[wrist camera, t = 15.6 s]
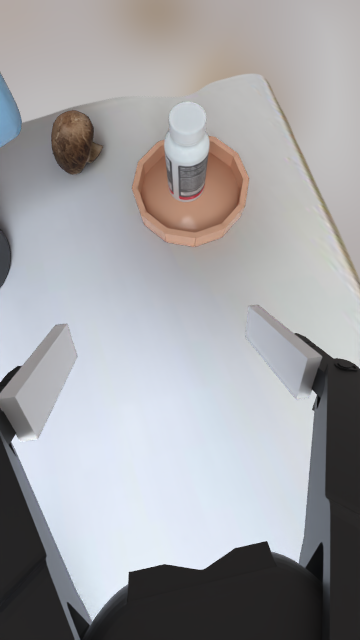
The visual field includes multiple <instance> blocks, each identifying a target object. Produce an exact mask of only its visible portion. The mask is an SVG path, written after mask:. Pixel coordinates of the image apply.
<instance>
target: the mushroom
mask: <svg viewBox="0 0 360 640" xmlns="http://www.w3.org/2000/svg"><path fill="white" fill-rule="evenodd" d="M93 133H94V128H93V125H92V123H91V121H90V119H89V117H88V116H86V115H85V114H83V113H81V112H78V111H74V110H72V111H67V112H65V113H63V114H61V115H60V116H58V117H57V119H56V120H55V122H54V124H53V128H52V134H51V141H52V150H53V154H54V157H55V159H56V161H57V163H58V164H59V166H60V167H61V168H62V169H63V170H65V171H66V172H68V173H69V174H72V175H74V174H78V173H81V171H82V170H83V168H84V167H85V165H86V163H87V162H88V163H92V162H93V161H94V160H95V159H96V157H97V156H98V155H99V153H100V152H101V150H102V148H103V146H102V145H99V144H96V143H94V142H93Z"/></svg>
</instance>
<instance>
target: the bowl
mask: <svg viewBox="0 0 360 640" xmlns="http://www.w3.org/2000/svg"><path fill="white" fill-rule="evenodd" d="M208 137H209V142H210V145H209V154H208V162H207V170H206V178H205V185H204V190H203V193H202V194H201V196H200V197H199V198H197V199H196V200H194V201H192V202H181V201H178V200H176V199H175V198H174V197H173V196H172V195H171V194H170V192H169V188H168V179H167V169H166V160H165V149H164V141H165V140H162V141H159V142H157V143H156V144H155V145H154V146H153V147H152V148H151V149H150V150H149V151H148V152H147V153H146V154H145V155H144V156H143V157H142V159H141V160H140V161H139V162H138V165H137V169H136V173H135V177H134V182H133V186H132V191H133V194H134V197H135V200H136V203H137V205H138V208H139V211H140V214H141V217H142V220H143V222H144V225H145V226H146V227H148V228H149V229H150V230H151V231H153V232H154V233H155V234H156V235H158V236H159V237H160V238H161V239H163V240H164V241H165V242H168V243H174V244H180V245H186V246H192V247H194V246H195V247H196V246H199V245H202V244H205V243H208V242H211V241H213V240H216V239H219V238H222V237H223V236H224V235H225V234H226V233H227V231H228V230H229V229H230V228H231V227H232V226H233V225H234V223H235V222H236V221H237V220H238V219H239V218H240V216H241V214H242V211H243V209H244V207H245V202H246V195H247V189H248V183H249V177H248V175H247V173H246V170H245V168H244V166H243V164H242V162H241V159H240V157H239V155H238V153H237V152H235V151H234V150H232V149H231V148H230V147H228V146H227V145H225V144H224V143H223V142H221V141H220V140H218V139H217V138H215V137H212V136H208Z"/></svg>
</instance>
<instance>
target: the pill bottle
mask: <svg viewBox="0 0 360 640" xmlns="http://www.w3.org/2000/svg"><path fill="white" fill-rule="evenodd" d="M209 145H210V142H209V137H208V134H207V132H206V113H205V111H204V109H203V108H202V107H201V106H200V105H199V104H197V103H194V102H182V103H179V104H177V105H176V106H174V107H173V109H172V110H171V112H170V114H169V131H168V132H167V134H166V137H165V141H164V149H165V160H166V169H167V179H168V188H169V192H170V194H171V195H172V196H173V197H174V198H175V199H176V200H178V201H181V202H192V201H194V200H196V199H197V198H199V197H200V196H201V194H202V193H203V190H204V185H205V178H206V170H207V162H208V154H209Z"/></svg>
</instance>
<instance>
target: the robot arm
mask: <svg viewBox="0 0 360 640" xmlns="http://www.w3.org/2000/svg"><path fill="white" fill-rule="evenodd" d="M21 124H22V121H21V116H20V112H19V109H18V107H17V104H16V102H15V100H14V98H13V96H12V94H11V92H10V90H9V88H8V86H7V84H6V82H5V80H4V78H3V77H2V75H1V73H0V148H1V147H2V146H4V145H5V144H7V143H8V142H9V141H11V140H12V139H14V138H15V137H17V136H18V134H19V133H20V131H21ZM9 266H10V248H9V244H8V241H7V239H6V237H5V235H4V233H3V232H2V231H1V230H0V287H1V285H2V284H3V282H4V280H5V278H6V276H7V273H8V270H9ZM245 337H246V338H247V340H248V341H249V342H250V343H251V345H252V346H253V347H254V348H255V350H256V351H257V352H258V353H259V355H260V356H261V357H262V358H263V360H264V361H265V362H266V363H267V364H268V366H269V367H270V368H271V369H272V371H273V372H274V373H275V374H276V376H277V377H278V378H279V379H280V381H281V382H282V383H283V384H284V385H285V387H286V388H287V389H288V390H289V392H290V393H291V394H292V395H293V397H294V398H295V399H296V400H299V399H305V398H309V397H310V394H311V391H312V390H313V391H314V392H315V393H316V394H317V397H316V400H315V403H314V405H313V408H312V410H314V423H313V435H312V447H311V459H310V471H309V483H308V495H307V507H306V519H305V531H304V539H303V544H302V549H301V553H300V559H299V564H298V563H297V562H295V561H294V560H292V559H290V558H288V557H286V556H284V555H281V554H278V553H274V552H271V550H270V548H269V545H268V542H267V541H266V542H261V543H257V544H252V545H248V546H243V547H239V548H235V549H233V550H232V551H230V552H229V553H228V554H226V555H225V556H223V557H222V558H220V559H219V560H217V561H216V562H214V563H213V564H212V565H210V566H209V567H207V568H206V569H203V570H197V569H190V568H184V567H178V566H172V565H166V564H164V565H159V566H155V567H150V568H146V569H142V570H137V571H133V572H129V581H128V585H126V586H125V587H123V588H122V589H121V590H119V591H118V592H117V593H116V594H115V595H114V596H113V597H112V598H111V599H110V600H109V601H108V602H107V603H106V604H105V605H104V607H103V608H102V609H101V611H100V612H99V613H98V615H97V616H96V617H95V619H94V620H93V622H92V621H91V618H90V616H89V614H88V612H87V610H86V608H85V606H84V604H83V602H82V600H81V599H80V597H79V595H78V593H77V591H76V589H75V587H74V585H73V582H72V580H71V578H70V575H69V573H68V571H67V568H66V566H65V564H64V562H63V559H62V557H61V555H60V552H59V550H58V548H57V545H56V543H55V541H54V538H53V536H52V534H51V532H50V529H49V527H48V525H47V522H46V520H45V518H44V515H43V513H42V511H41V508H40V506H39V504H38V502H37V499H36V497H35V495H34V492H33V490H32V488H31V485H30V483H29V481H28V479H27V476H26V474H25V472H24V469H23V467H22V465H21V462H20V460H19V458H18V455H17V453H16V451H15V449H14V446H13V445H12V443H11V441H12V439H13V437H14V436H15V434H16V435H17V437H18V439H19V440H20V442H23V441H30V440H37V439H38V438H39V436H40V434H41V432H42V430H43V428H44V425H45V423H46V421H47V419H48V417H49V415H50V413H51V411H52V409H53V407H54V405H55V403H56V400H57V398H58V396H59V394H60V392H61V390H62V388H63V386H64V384H65V382H66V380H67V378H68V375H69V373H70V371H71V369H72V367H73V365H74V363H75V361H76V359H77V357H78V356H77V352H76V349H75V346H74V343H73V340H72V337H71V334H70V330H69V327H68V324H59V325H55V326H54V328H53V329H52V330H51V331H50V332H49V334H48V335H47V336H46V337H45V339H44V340H43V341H42V342H41V344H40V345H39V346H38V347H37V348H36V350H35V351H34V352H33V353H32V355H31V356H30V357H29V358H28V360H27V361H26V362H25V363H24V364H23V366H17V367H16V368H14V369H13V370H12V371H10V372H9V373H8V374H7V375H6V376H5V377H4V378H3V380H2V381H1V382H0V640H360V369H359V367H358V366H356V365H355V364H353V363H352V362H350V361H347V360H344V359H338V358H336V359H333V358H332V357H331V356H329V355H328V354H327V353H326V352H324V351H323V350H322V349H320V348H319V347H318V346H316V345H315V344H314V343H312V342H311V341H310V340H309V339H307V338H306V337H304V336H302V335H300V334H298V333H293V332H291V331H290V330H289V329H288V328H286V327H285V326H284V325H283V324H281V323H280V322H279V321H278V320H277V319H275V318H274V317H273V316H272V315H270V314H269V313H268V312H267V311H265V310H264V309H263V308H262V307H260V306H259V305H251V306H249V308H248V317H247V326H246V335H245Z"/></svg>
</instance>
